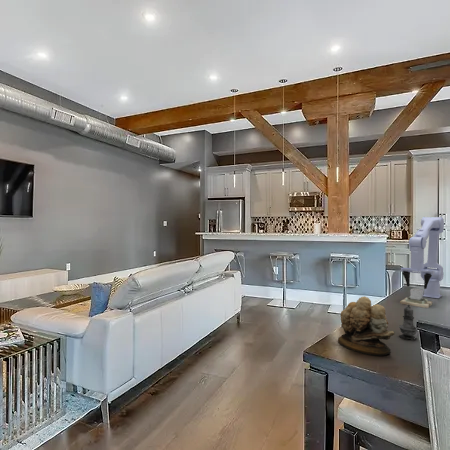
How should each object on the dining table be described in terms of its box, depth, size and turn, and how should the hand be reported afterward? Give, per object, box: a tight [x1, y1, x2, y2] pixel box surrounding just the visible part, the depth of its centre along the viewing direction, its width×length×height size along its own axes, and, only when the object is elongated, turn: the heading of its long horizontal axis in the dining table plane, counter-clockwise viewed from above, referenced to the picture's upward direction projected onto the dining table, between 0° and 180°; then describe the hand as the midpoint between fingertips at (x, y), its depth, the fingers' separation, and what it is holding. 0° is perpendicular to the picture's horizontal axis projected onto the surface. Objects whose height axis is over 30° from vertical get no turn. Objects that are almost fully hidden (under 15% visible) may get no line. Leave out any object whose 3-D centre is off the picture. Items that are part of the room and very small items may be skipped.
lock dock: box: [399, 296, 434, 309], centre depth 165 cm, size 11×12×2 cm
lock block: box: [410, 287, 424, 301], centre depth 164 cm, size 4×4×6 cm
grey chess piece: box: [398, 304, 418, 340], centre depth 117 cm, size 6×6×12 cm
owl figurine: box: [337, 296, 395, 357], centre depth 108 cm, size 18×12×17 cm, turn 42°
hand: (416, 287), depth 164 cm, fingers open, 7 cm apart
